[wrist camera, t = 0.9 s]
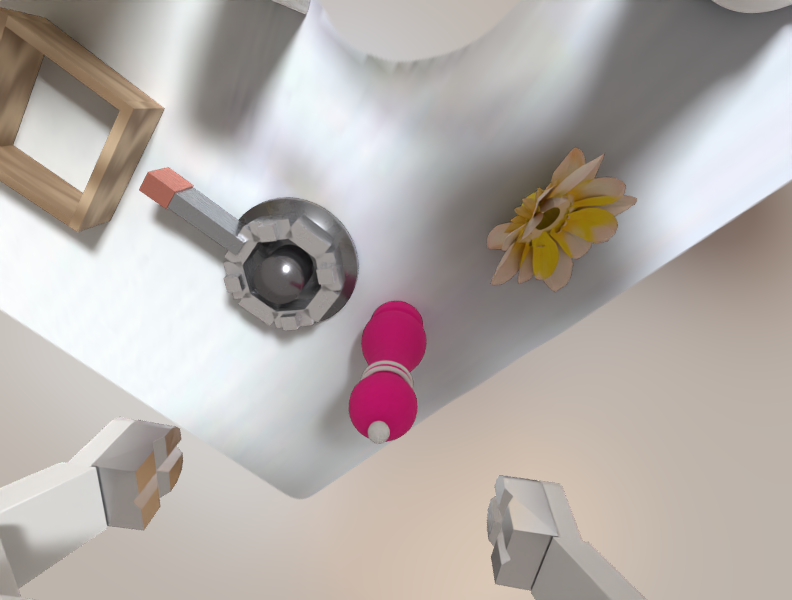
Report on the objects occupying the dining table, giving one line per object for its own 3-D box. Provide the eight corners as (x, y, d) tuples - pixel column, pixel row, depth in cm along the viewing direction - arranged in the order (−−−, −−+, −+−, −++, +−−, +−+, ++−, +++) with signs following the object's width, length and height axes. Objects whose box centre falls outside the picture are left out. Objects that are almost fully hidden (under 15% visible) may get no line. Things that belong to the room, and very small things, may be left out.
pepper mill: (392, 359, 54) (372, 486, 36) (355, 318, 52) (313, 430, 34) (439, 329, 52) (442, 448, 34) (401, 285, 50) (383, 386, 32)
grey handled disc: (364, 260, 48) (358, 273, 44) (305, 333, 52) (295, 351, 48) (189, 127, 43) (165, 129, 40) (141, 219, 48) (116, 229, 44)
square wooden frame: (44, 17, 42) (-3, 6, 37) (164, 108, 44) (133, 108, 40) (1, 146, 47) (-45, 150, 43) (110, 220, 50) (77, 232, 45)
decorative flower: (529, 305, 50) (550, 349, 41) (458, 242, 48) (464, 274, 38) (640, 208, 45) (692, 235, 36) (566, 131, 42) (603, 138, 33)
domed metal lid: (273, 168, 46) (251, 176, 40) (384, 254, 49) (378, 272, 43) (208, 270, 51) (181, 290, 46) (312, 342, 54) (299, 368, 49)
